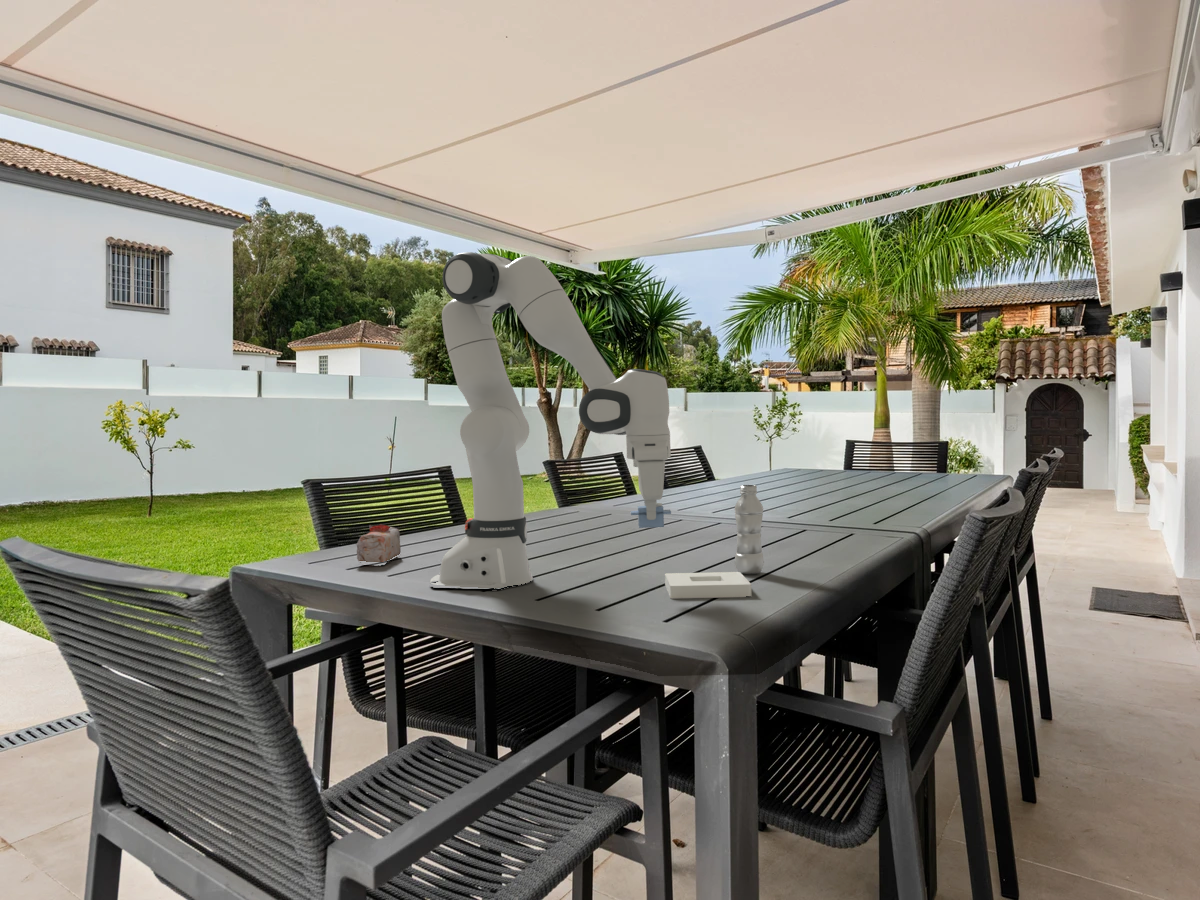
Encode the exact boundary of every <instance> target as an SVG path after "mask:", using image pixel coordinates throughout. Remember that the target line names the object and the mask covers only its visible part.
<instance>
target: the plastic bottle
mask: <svg viewBox="0 0 1200 900" xmlns="http://www.w3.org/2000/svg"><path fill="white" fill-rule="evenodd" d="M739 487H740V488H739V489H740V491H739V494H740V497H739V498H738V500H737V502H736V503H735V506H734V517H735V518H734V519H735V523H736V533H737V534H736V540H737V541H736V552H735V555H734V556H735V557H734V567H735V569H736V572H740V573H741V574H746V575H752V574H753V575H754V574H758V573H761V572H762V571H763V569H764V564H765V561H764V554H763V549H762V523H763V514H764V506H763V504H762V502H761V501H760V499H759V498H758V497H757V494H758V491H757V484H742V485H740V486H739Z"/></svg>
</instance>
